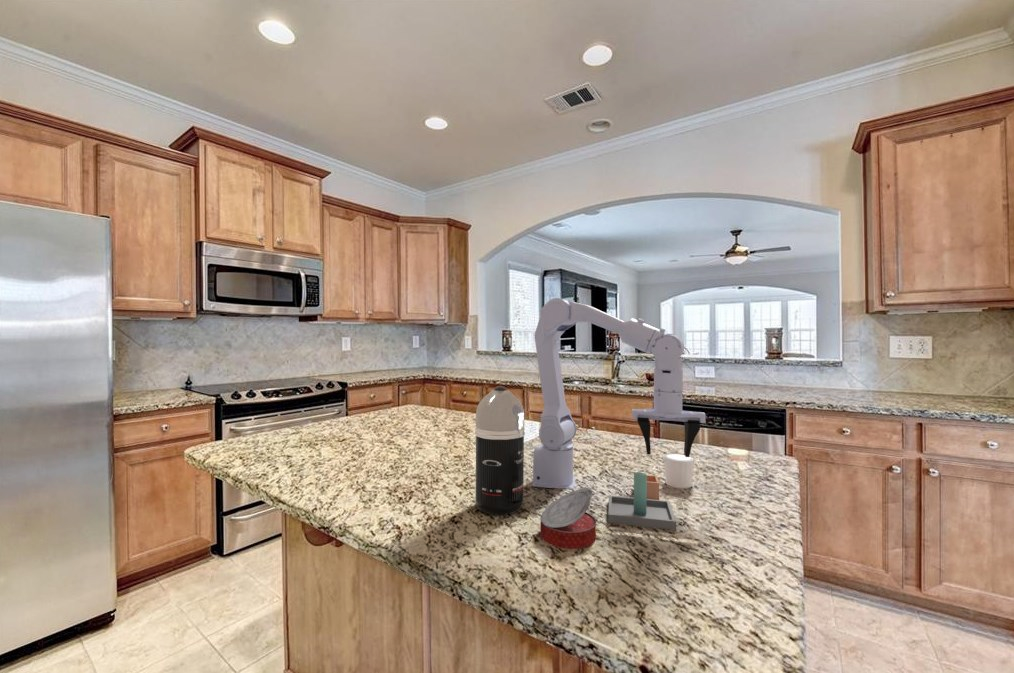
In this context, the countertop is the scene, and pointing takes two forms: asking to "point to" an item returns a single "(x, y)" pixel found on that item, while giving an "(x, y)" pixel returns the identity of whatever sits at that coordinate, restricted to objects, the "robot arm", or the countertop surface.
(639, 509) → the pin
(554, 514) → the canned food
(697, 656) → the countertop surface
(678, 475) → the white short cylinder
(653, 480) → the open box
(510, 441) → the black bottle
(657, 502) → the tray
